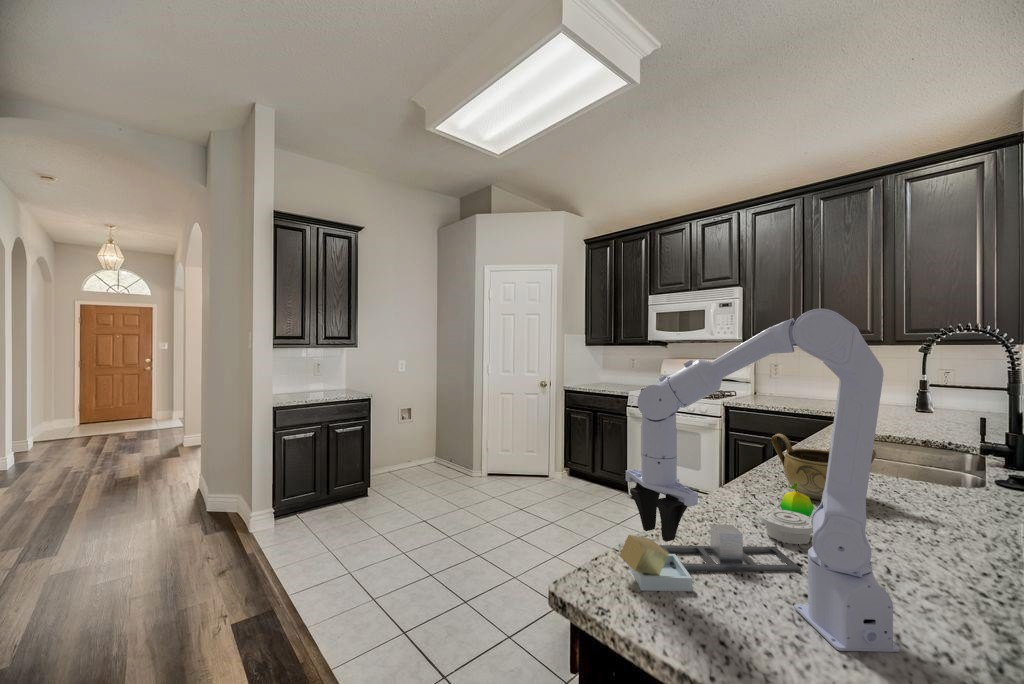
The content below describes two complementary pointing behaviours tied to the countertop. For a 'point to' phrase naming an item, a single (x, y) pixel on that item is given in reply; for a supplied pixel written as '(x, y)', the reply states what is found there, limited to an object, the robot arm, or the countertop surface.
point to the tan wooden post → (643, 555)
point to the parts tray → (665, 577)
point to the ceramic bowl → (805, 467)
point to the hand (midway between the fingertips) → (658, 534)
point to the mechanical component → (787, 526)
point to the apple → (797, 502)
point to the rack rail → (747, 567)
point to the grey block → (726, 544)
